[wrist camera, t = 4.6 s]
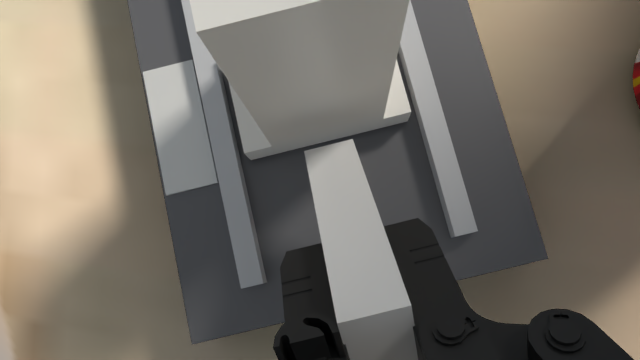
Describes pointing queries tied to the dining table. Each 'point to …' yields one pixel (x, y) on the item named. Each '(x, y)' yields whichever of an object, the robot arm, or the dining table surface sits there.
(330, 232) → the robot arm
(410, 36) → the switch board
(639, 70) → the soda can
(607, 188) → the dining table surface
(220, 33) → the tab
